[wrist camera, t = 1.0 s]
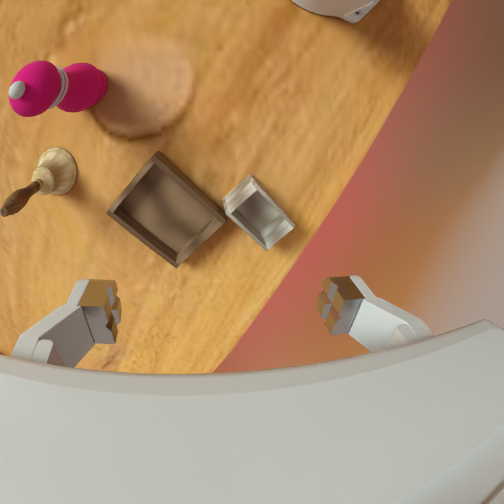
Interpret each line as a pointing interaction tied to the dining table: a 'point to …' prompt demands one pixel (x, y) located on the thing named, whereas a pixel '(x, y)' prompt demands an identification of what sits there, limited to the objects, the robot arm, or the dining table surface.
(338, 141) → the dining table surface
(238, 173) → the dining table surface
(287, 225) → the small crate
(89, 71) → the pepper mill
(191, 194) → the big crate
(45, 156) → the hand bell
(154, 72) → the dining table surface
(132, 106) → the dining table surface
